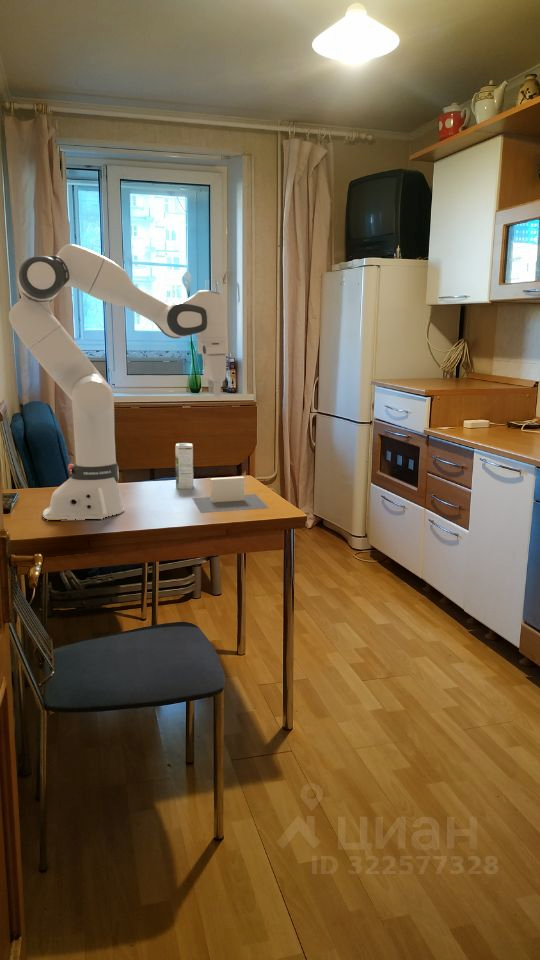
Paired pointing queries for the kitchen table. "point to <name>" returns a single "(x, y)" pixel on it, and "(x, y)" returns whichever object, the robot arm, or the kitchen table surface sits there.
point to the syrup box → (184, 465)
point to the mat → (229, 504)
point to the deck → (227, 489)
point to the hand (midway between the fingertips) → (214, 394)
